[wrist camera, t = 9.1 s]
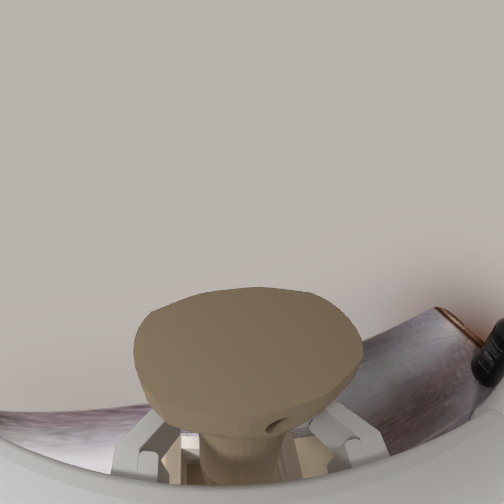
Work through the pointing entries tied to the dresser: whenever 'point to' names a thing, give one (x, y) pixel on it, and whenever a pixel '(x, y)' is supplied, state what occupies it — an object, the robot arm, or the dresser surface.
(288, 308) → the handle
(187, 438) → the tool holder
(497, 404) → the bottle
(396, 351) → the dresser surface
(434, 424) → the dresser surface
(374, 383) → the dresser surface
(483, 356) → the supplement bottle
